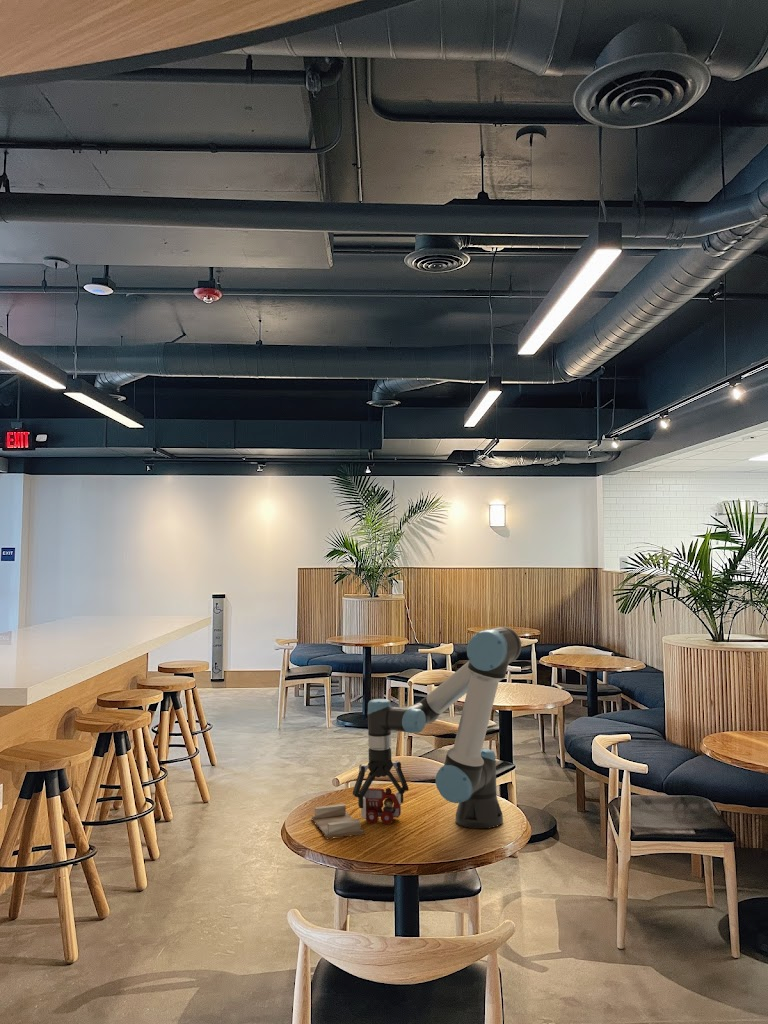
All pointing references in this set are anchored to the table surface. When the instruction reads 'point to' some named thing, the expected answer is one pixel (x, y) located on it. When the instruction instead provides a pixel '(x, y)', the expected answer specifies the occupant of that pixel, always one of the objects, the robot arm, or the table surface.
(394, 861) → the table surface
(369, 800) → the toy fire truck
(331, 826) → the gray jig
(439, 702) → the robot arm
